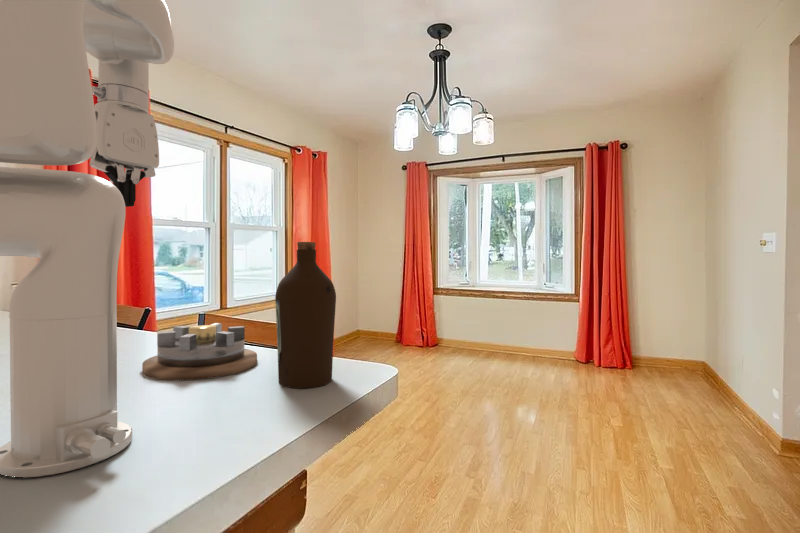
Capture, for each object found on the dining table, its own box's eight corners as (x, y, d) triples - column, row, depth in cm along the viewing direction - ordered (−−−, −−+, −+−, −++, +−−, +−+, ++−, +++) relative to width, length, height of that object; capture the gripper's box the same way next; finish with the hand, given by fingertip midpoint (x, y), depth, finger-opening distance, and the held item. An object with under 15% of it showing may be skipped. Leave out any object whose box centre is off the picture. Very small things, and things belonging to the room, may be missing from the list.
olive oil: (338, 373, 83) (339, 243, 82) (331, 390, 72) (332, 241, 72) (282, 372, 83) (283, 242, 82) (267, 390, 72) (268, 240, 71)
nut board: (278, 360, 92) (278, 353, 92) (190, 386, 73) (190, 377, 73) (211, 349, 102) (211, 343, 102) (118, 370, 83) (118, 362, 83)
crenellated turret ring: (228, 366, 80) (228, 334, 80) (140, 366, 79) (140, 334, 79) (254, 348, 96) (254, 321, 96) (180, 348, 95) (180, 321, 95)
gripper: (89, 84, 68) (89, 200, 69) (176, 112, 81) (176, 209, 82) (64, 92, 72) (65, 202, 72) (152, 118, 85) (152, 211, 85)
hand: (124, 205), depth 77 cm, fingers closed
